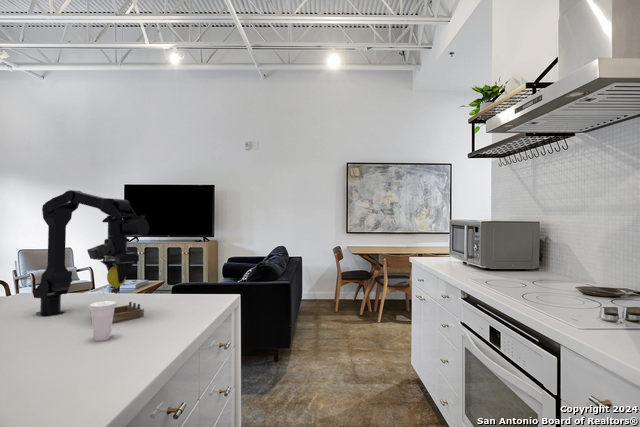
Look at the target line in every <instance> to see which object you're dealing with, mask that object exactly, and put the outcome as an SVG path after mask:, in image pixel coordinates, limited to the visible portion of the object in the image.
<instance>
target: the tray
mask: <svg viewBox="0 0 640 427" xmlns="http://www.w3.org/2000/svg"><path fill="white" fill-rule="evenodd" d="M132 302H133V301H128V304H127V305H119V306H116V307H115V309H114V315H113V322H112V324H115V323H116V324H117V323H120V322H125V321H131V320H135V319H139V318H144V317H145V315H144V314H145V313H144V312H145V310H144V308H141V303H139V304H138V303H136V302H133V303H132Z"/></svg>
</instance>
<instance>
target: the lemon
mask: <svg viewBox="0 0 640 427" xmlns="http://www.w3.org/2000/svg"><path fill="white" fill-rule="evenodd" d="M126 278H127V276H126V277H125V279H124V281H123V283H119V281H118V274H117V267H116V266H113V267H111V268H110V269H109V271H108V270H107V275H106V279H107V283H108V284H109V285H110V286H112V287H114V289H118V288H119V287H120V286H123V285H124V283H125V281H126Z"/></svg>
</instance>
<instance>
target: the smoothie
mask: <svg viewBox="0 0 640 427" xmlns="http://www.w3.org/2000/svg"><path fill="white" fill-rule="evenodd" d="M115 307H117V302H116V301H112V300H105V287H102V288H101V301H98V302H97V301H95V302H94V303H90V304H89V307H88V308H89V310H90V314H91V321H92V322H91V324H92V330H93V339H94V341H96V342H102V341H106V340H109V339H110V338H111V333H112V329H113V328H112V327H113V323H112V322H113V315H114V309H115Z"/></svg>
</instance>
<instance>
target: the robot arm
mask: <svg viewBox="0 0 640 427" xmlns="http://www.w3.org/2000/svg"><path fill="white" fill-rule="evenodd" d="M79 205H83V206H89V207H91V208H95V209H99V211H101V212H102V213H103V214H105V215H106V217H105V218H103V220H102V221H101V222H102V223H107V238H105V239H104V243H102V244H98V245H96V246H94V247H92V248H87V250H86V251H87V254H88V255H89V259H90V260H94V261H95V260H98V261H99V262H100V263H102V264H103V265H105V267H106V269H107V272H108V271H109V269H110V268H111V267H113V266H116V267H117V274H118V281H119V283H123V281H124V279H125V277H126V278H127V276H128V273H129V272H130V270H131V268H132V266H133V264H135V262H136V263H137V262H139V261H140V255H139V254H138V253H137V252H130V250H128V243H130V241H131V240H130V238H128V237H145V236H147V235H148V234H149V231H150V228H151V227H150V223H149V221H148V220H147V219H146V215H137V214H136V212H135V210H134V209H133V207H132V206H131V203H130V201H129V200H127V199H122V198H121V199H120V198H107V197H101V196H99V195H98V196H97V195H94V194H90V193H87V192H86V193H85V192H83V191H80V190H74V189H69V190H66V191H65V192H63V193H62V194H60V195H57V196H55V197H53V198H51V199H49V200H47V201H46V202H44V204H43V205H42V207H41V211H42V218H43V220H44V222H45V224H46V225H47V226H48V230H47V231H48V232H47V233H48V234H47V265H46V268H45V270H44V272H43V273H42V274H41V277H40V278H41V279H40V283H39V284H38V285H37V287H36V288H34V290H33V291H32V295H33V298H34V299H40V305H39V306H40V310H39V311H37V312H36V313H35V314H36V315H39V316H41V317H47V316H51V315H52V316H53V315H59V314H64V313H65V310H62V309H61V308H62V306H61V304H62V296H63V295H67V294H68V292H69V290H70V289H69V288H70V287H71V283H73V279H72V278H73V272H72V270H68V268H67V266H66V244H67V243H66V241H67V240H66V237H67V236H66V234H67V225H68V224H69V222H70V221H71V220H72V215H73V213H74V212H75V211H76V210H77V209H78V208H79ZM125 280H126V279H125ZM123 284H124V283H123Z"/></svg>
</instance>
